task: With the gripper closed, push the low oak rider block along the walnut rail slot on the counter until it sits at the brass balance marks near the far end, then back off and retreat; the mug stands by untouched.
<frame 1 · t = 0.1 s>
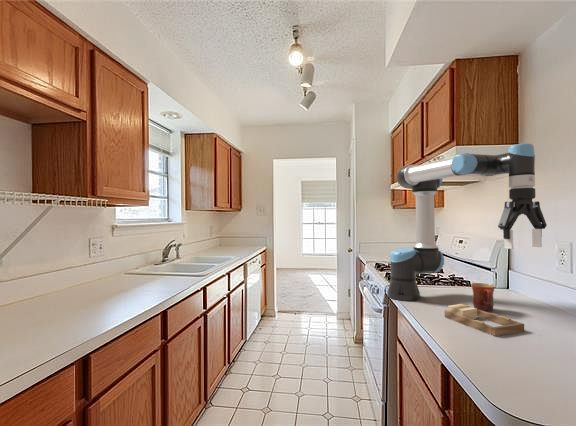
hand: (523, 247, 113), 28 cm above the countertop, fingers open, 13 cm apart
mug: (484, 311, 132), on the countertop
beam slot: (480, 323, 117), on the countertop
rider: (462, 317, 124), on the countertop
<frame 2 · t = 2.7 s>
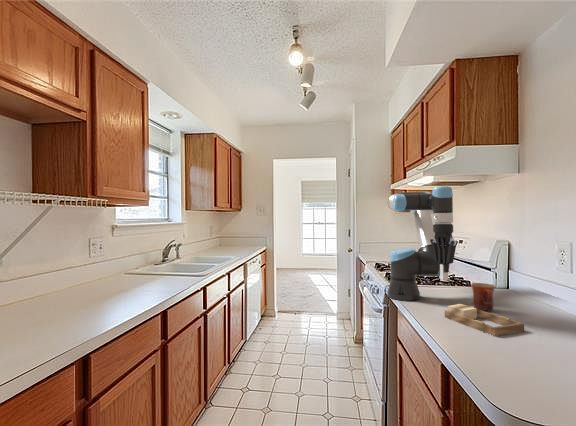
hand: (444, 279, 133), 13 cm above the countertop, fingers closed
nothing on the countertop moved.
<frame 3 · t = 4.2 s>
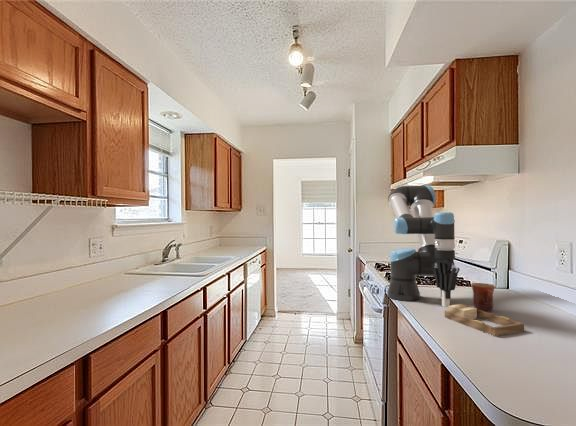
hand: (445, 305, 132), 2 cm above the countertop, fingers closed
nothing on the countertop moved.
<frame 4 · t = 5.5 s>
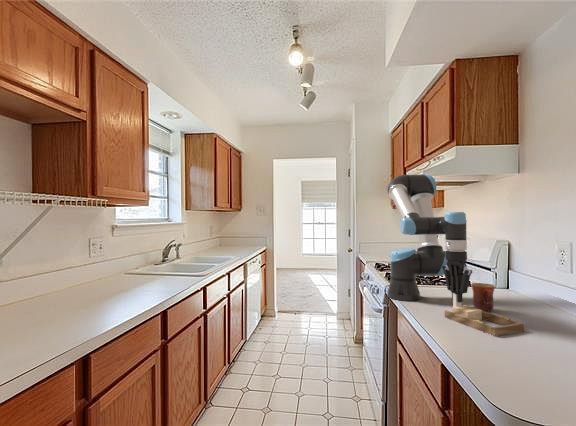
hand: (457, 309, 126), 2 cm above the countertop, fingers closed
rider: (466, 318, 122), on the countertop, touching gripper
everything else where it was.
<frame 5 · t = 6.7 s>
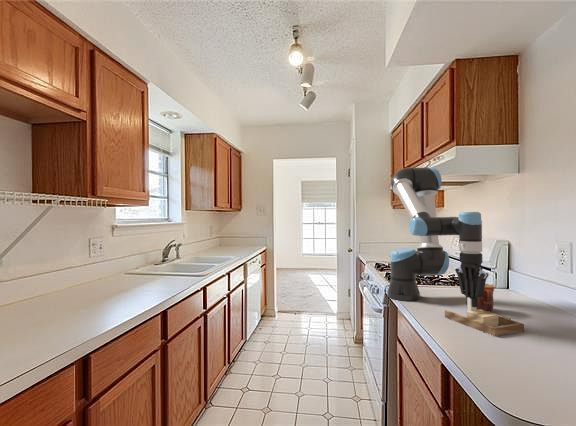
hand: (472, 314, 120), 2 cm above the countertop, fingers closed
rider: (482, 324, 116), on the countertop, touching gripper
everything else where it was.
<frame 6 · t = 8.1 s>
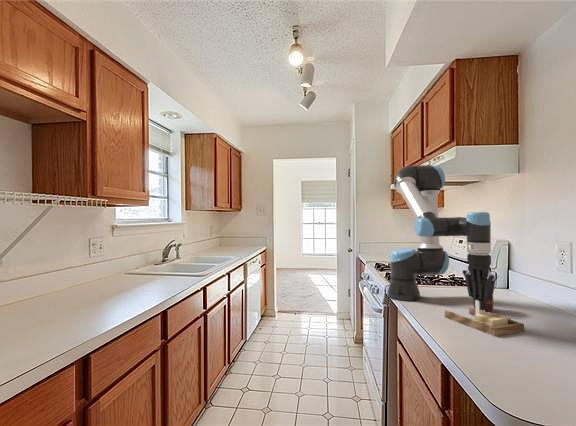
hand: (480, 317, 117), 2 cm above the countertop, fingers closed
rider: (490, 327, 113), on the countertop
everything else where it was.
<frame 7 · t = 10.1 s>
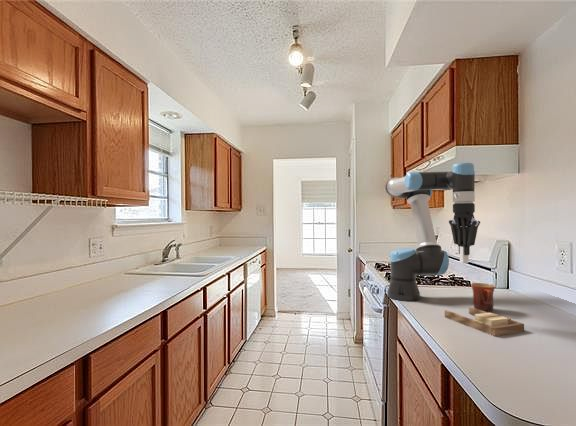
hand: (464, 263, 124), 21 cm above the countertop, fingers closed
nothing on the countertop moved.
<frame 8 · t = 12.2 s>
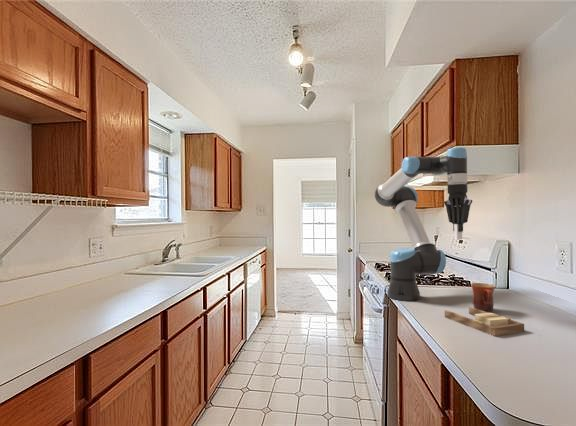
hand: (458, 239, 136), 29 cm above the countertop, fingers closed
nothing on the countertop moved.
at the end: rider inside the target area (1.5 cm from its centre), on the countertop; rider tilted 0°; the gripper is holding nothing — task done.
